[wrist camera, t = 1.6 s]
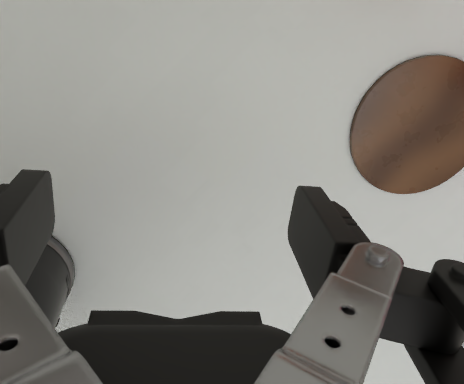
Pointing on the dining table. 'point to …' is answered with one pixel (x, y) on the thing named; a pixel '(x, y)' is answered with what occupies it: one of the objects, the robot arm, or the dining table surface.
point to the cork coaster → (411, 126)
